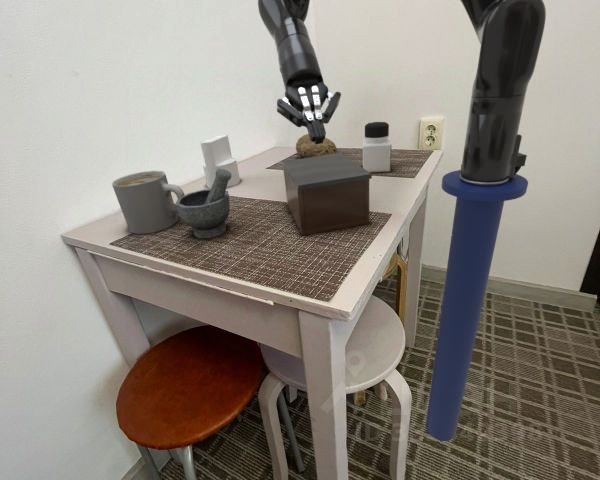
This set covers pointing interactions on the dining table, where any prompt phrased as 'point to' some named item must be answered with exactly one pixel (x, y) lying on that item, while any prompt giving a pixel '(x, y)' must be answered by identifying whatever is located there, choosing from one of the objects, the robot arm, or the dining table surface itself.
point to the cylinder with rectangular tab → (219, 159)
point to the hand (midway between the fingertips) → (319, 141)
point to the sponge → (314, 147)
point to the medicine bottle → (377, 147)
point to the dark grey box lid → (324, 171)
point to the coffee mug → (147, 201)
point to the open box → (328, 205)
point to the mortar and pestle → (207, 207)
